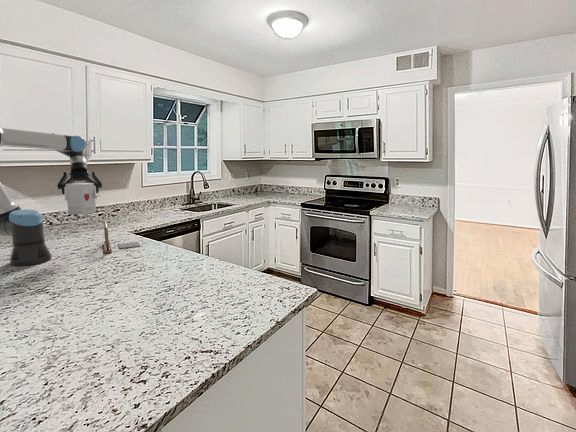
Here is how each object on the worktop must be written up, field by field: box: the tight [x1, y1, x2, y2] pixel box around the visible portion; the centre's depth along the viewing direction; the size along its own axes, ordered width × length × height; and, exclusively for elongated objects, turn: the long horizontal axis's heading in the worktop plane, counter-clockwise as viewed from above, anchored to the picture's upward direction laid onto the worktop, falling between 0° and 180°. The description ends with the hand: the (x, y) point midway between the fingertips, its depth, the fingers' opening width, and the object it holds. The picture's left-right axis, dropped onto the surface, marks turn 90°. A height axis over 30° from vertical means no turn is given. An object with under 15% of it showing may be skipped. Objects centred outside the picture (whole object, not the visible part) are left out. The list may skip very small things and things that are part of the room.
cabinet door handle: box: [103, 220, 113, 254], centre depth 178 cm, size 3×22×15 cm, turn 30°
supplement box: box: [66, 182, 97, 215], centre depth 169 cm, size 9×9×15 cm
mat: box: [118, 241, 141, 250], centre depth 184 cm, size 10×10×1 cm
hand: (81, 198), depth 168 cm, fingers closed on supplement box, 12 cm apart
